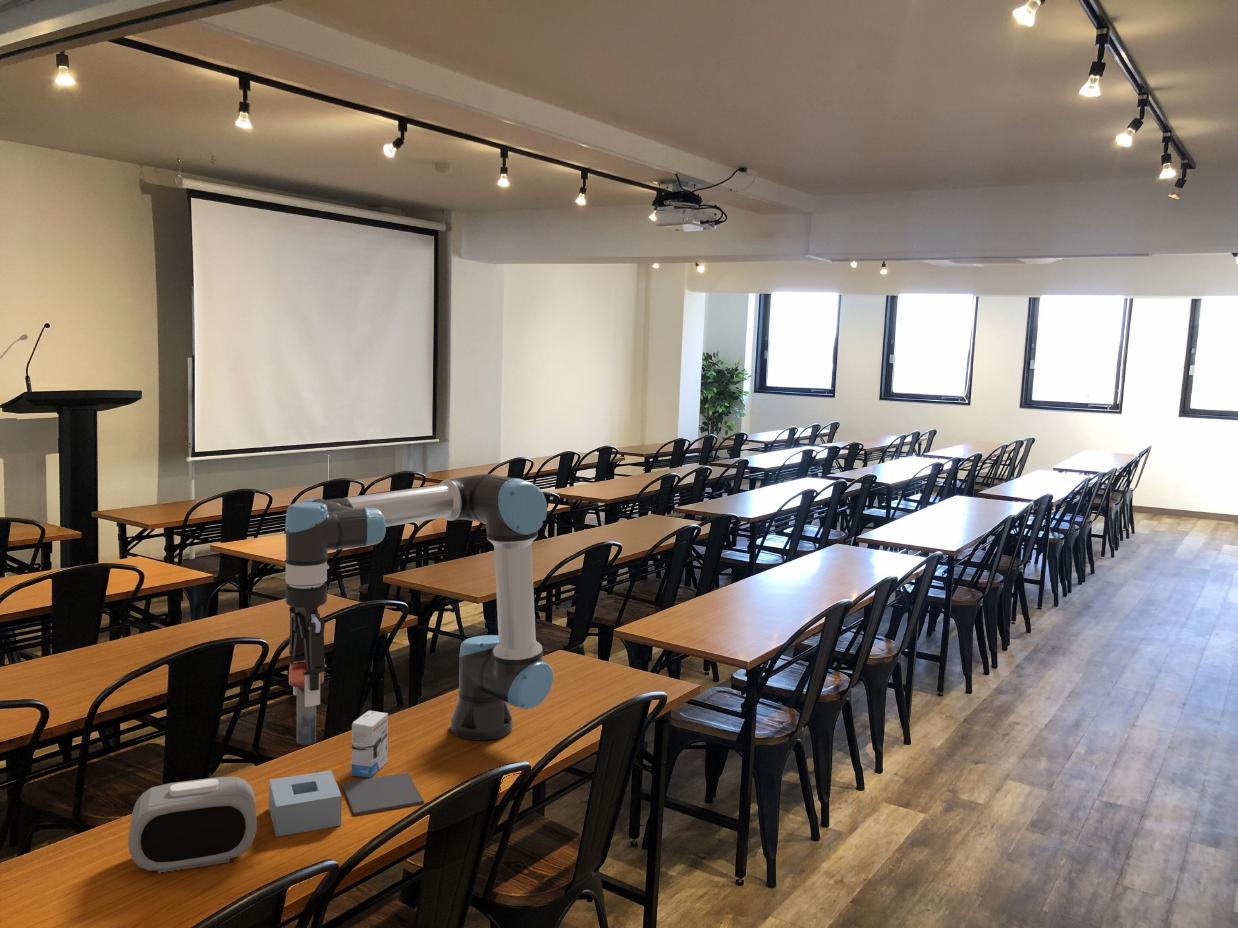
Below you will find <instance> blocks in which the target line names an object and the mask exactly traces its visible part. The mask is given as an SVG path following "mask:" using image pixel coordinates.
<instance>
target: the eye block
mask: <svg viewBox="0 0 1238 928" xmlns="http://www.w3.org/2000/svg"><path fill="white" fill-rule="evenodd" d="M333 773H334V772H333V771H332V770H326V771H318V772H312V773H305V774H298V775H292V776H284V777H279V778H278V777H277V778H272V779H269V781H268V782H269V783H268V785H269V786H268V789H269V790H268V794H269V795H268V800H269V801H268V808H269V812H270V813H269V814H270V817H271V822H272V827H273V829H274V835H275V837H276V838H278V837H283V836H288V835H294V834H300V833H305V832H311V831H316V830H323V829H328V828H334V827H338V826H339V827H340V826H342V808H343V807H342V805H343V804H342V803H343V802H342V801H343V800H342V793H341V791H340V789H339V788H340V787H339V786H338V783H337V781H336V779H335V775H334V774H333Z"/></svg>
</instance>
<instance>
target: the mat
mask: <svg viewBox="0 0 1238 928" xmlns="http://www.w3.org/2000/svg"><path fill="white" fill-rule="evenodd" d="M341 787H342V789H343V791H344V792H343V793H344V794H345V797H346V800H347V803H349V806H350V809H351V811H352V814H353V816H361V815H365V814H370V813H377V812H382V811H389V810H395V809H400V808H406V807H411V806H417V805H423V804H425V800H424V799H423V797H422V795H421V793H420V792H419V790H418V788H417V787H416V785H415V783H414V780H413V779H412V778H411V776H410V774H409V772H402V773H397V774H396V773H395V774H389V775H384V776H382V775H381V776H376V777H371V778H365V779H363V778H362V779H359V780H352V781H351V780H350V781H346V782H345V781H344V782H341Z"/></svg>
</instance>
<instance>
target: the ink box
mask: <svg viewBox="0 0 1238 928" xmlns="http://www.w3.org/2000/svg"><path fill="white" fill-rule="evenodd" d="M388 725H389V713H388V712H380V711H375V710H368V711H366V712H365V713H363V714H362V715H360V716H359V717H358V718H357V719H355V720H354V721H353V722H352V724H351V765H350V767H351V771H350V773H351V774H350V775H351V776H353V777H354V776H355V777H360V778H361V777H363V778H367V779H369V778H373V777H374V775H376V773H378V772H379V770H381V768H383V767H384V766H385V765H386V764H387V763H388V734H389V733H388V732H389V731H388V730H389V728H388V727H389V726H388Z"/></svg>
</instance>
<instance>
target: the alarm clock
mask: <svg viewBox="0 0 1238 928" xmlns="http://www.w3.org/2000/svg"><path fill="white" fill-rule="evenodd" d="M257 819H258V818H257V808H256V798H255V792H254V789H253V787H252V785H251V784H250V783H249V782H248V781H247V780H245V779H244V778H241V777H239V776H218V777H217V776H216V777H208V778H202V779H194V780H186V781H177V782H169V783H165V784H161V785H157V786H153V787H152V786H151V787H150V788H149V789H147V790H145V791H144V792H143V793H141V795H140V796H139V797H138V799H137V800H136V801H135V804H134V807H133V810H132V814H131V819H130V820H131V821H130V825H129V833H128V839H127V840H128V842H127V845H128V852H129V855H130V857H131V860H132V861H133V862H134V863H135V864H136V865H137V866H138V868H141V869H144V870H146V871H157V873H158V874H162V873H161V872H164V873H167V872H166V871H171V872H175V871H174V870H177V871H181V870H180V869H183V870H188V869H194V868H201V867H206V866H207V867H208V866H212V865H213V866H214V865H218V864H225V863H230V861H231V859H234V858H237V857H239V856H241V855H243V854H244V853H245V852H246V851H248V849H249V848H250V846H252V844H253V842H254V840H255V837H256V834H257V828H258V821H257ZM193 867H194V868H193Z"/></svg>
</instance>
